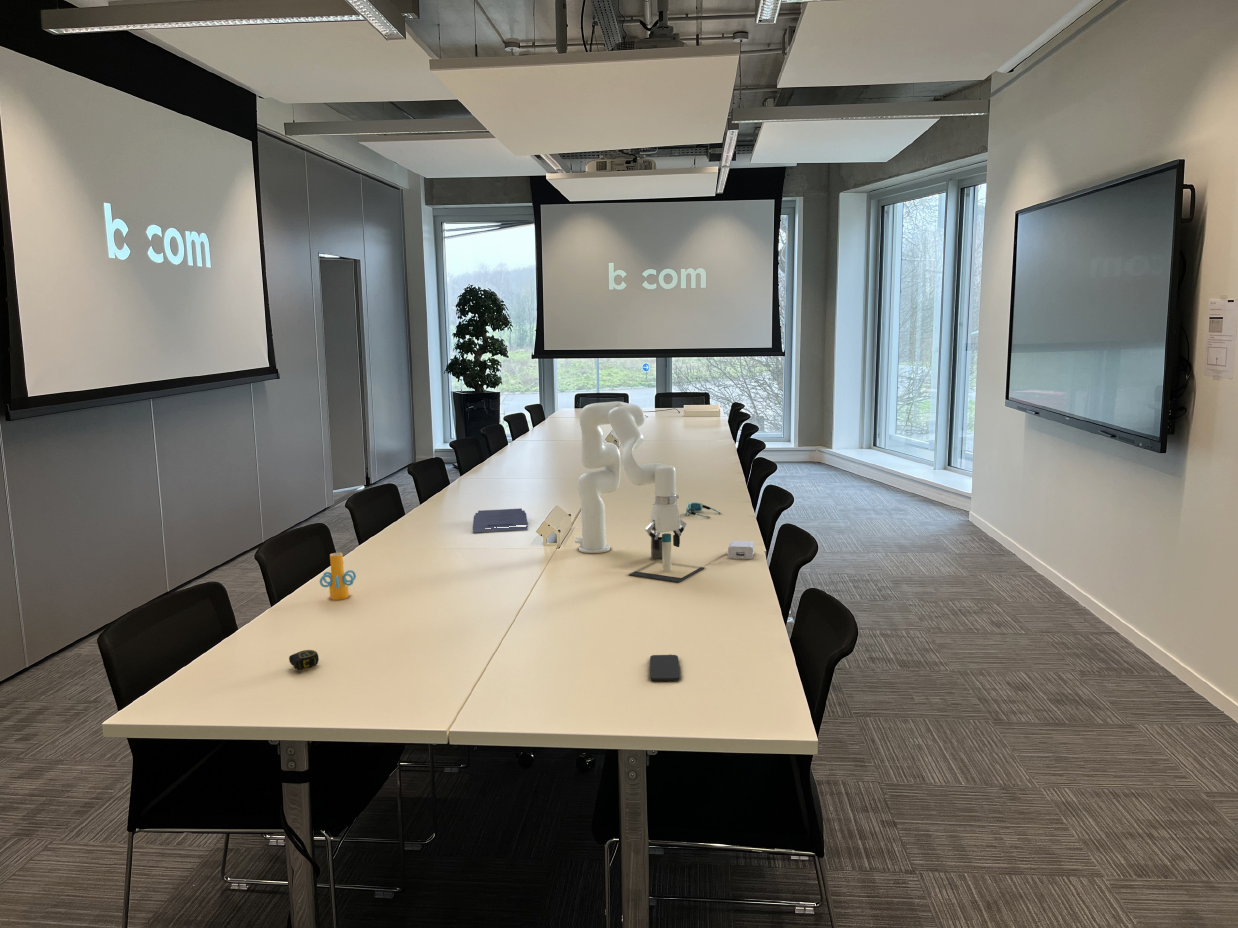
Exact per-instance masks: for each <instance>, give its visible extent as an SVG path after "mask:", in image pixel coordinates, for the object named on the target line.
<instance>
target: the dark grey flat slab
mask: <svg viewBox="0 0 1238 928" xmlns="http://www.w3.org/2000/svg"><path fill="white" fill-rule="evenodd" d="M516 525H528V517H527V512H526V511H525V510H523V508H522V507H521V508H506V509H505V508H504V509H503V508H501V509H484V510H478V511H477V512H475V514H474V515H473V521H472V533H473V534H474V533H483V532H484V533H486V532H488V533H489V532H501V531H502V532H503V531H524V530H525V531H526V530H528V527H529V525H528V526H526V527H509V526H516ZM494 527H496V528H494ZM497 527H509V528H497ZM485 528H491V529H485Z"/></svg>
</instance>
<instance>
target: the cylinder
mask: <svg viewBox="0 0 1238 928" xmlns="http://www.w3.org/2000/svg"><path fill="white" fill-rule="evenodd" d="M343 555H344V554H343V552H333V553H330V554H329V562H330V571H325V572H323V574H322V576H321V577H320V579H319V585H320V586H321V587H323V588H329V598H330V600H333V601H340V600H346V599H348V598H349V597H350V594H349V593H350V592H349V587H350V586H352V585H353V584H354V582H355V580H356V578H357V574H356V572H355V571H354V570H353V569H349V570H346V571H345V567H344V557H343ZM347 577H349V578H350V579H347ZM326 578H328V579H329V581H328V580H327V579H326ZM323 582H324V583H325V584H324V583H323Z"/></svg>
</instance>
